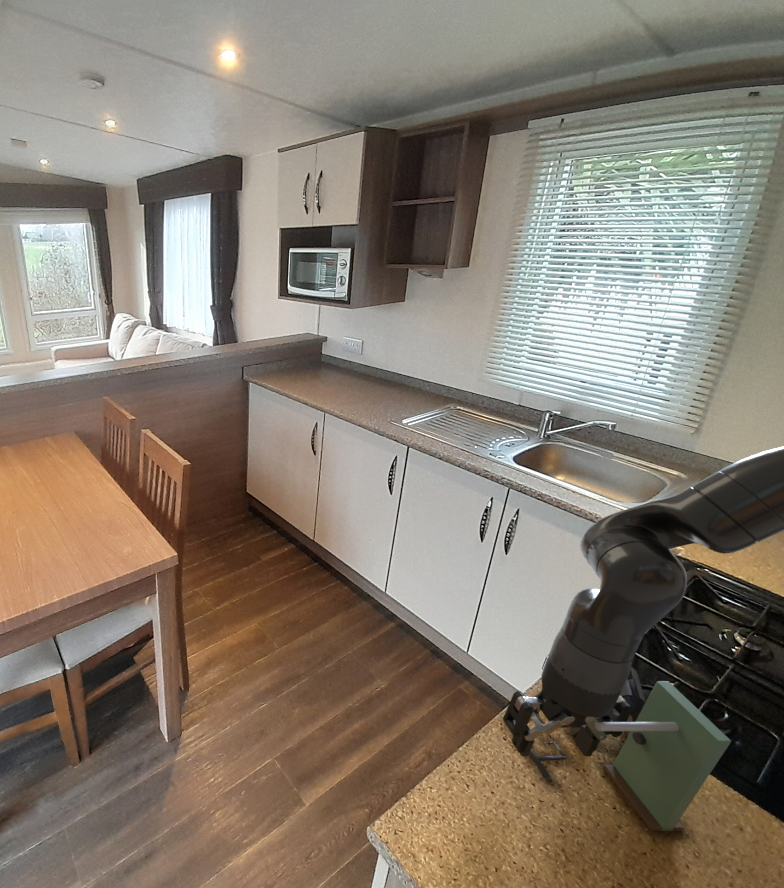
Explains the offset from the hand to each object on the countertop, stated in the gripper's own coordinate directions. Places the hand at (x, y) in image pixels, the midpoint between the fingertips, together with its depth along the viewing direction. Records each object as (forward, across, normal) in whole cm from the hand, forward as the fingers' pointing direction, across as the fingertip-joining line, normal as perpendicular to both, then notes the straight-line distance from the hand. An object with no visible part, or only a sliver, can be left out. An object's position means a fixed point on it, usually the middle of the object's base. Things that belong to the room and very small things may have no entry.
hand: (551, 750), depth 67 cm
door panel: (+5, +6, -4) cm, 9 cm away
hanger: (+4, 0, +3) cm, 5 cm away
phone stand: (+5, +13, +5) cm, 15 cm away
